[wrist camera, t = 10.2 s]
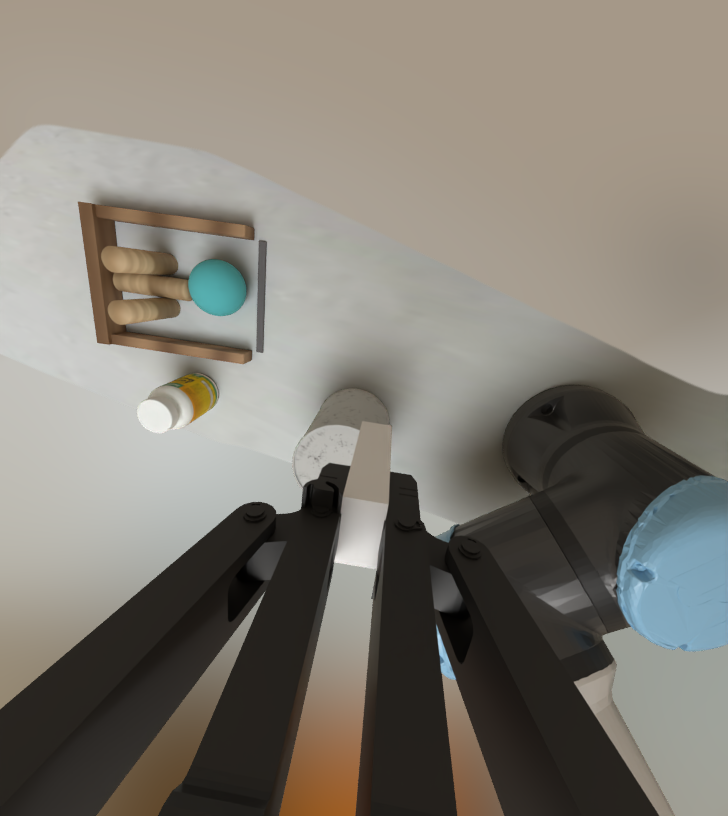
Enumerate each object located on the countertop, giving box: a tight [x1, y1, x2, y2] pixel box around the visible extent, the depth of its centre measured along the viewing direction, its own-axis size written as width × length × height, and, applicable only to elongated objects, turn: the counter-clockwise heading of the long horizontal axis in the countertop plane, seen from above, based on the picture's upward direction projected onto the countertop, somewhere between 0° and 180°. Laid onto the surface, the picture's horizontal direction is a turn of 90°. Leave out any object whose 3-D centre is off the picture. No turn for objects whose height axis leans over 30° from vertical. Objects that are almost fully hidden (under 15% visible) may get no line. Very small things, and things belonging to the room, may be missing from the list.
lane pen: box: [78, 202, 254, 364], centre depth 41 cm, size 18×15×3 cm
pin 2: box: [108, 298, 180, 325], centre depth 39 cm, size 2×2×8 cm
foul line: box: [256, 241, 266, 353], centre depth 41 cm, size 1×13×1 cm, turn 173°
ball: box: [188, 259, 246, 316], centre depth 39 cm, size 6×6×6 cm
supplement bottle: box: [137, 373, 219, 433], centre depth 42 cm, size 5×5×10 cm
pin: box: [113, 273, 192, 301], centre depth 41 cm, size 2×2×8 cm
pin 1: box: [101, 246, 178, 275], centre depth 37 cm, size 2×2×8 cm
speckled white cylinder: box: [292, 388, 390, 490], centre depth 40 cm, size 10×10×12 cm
